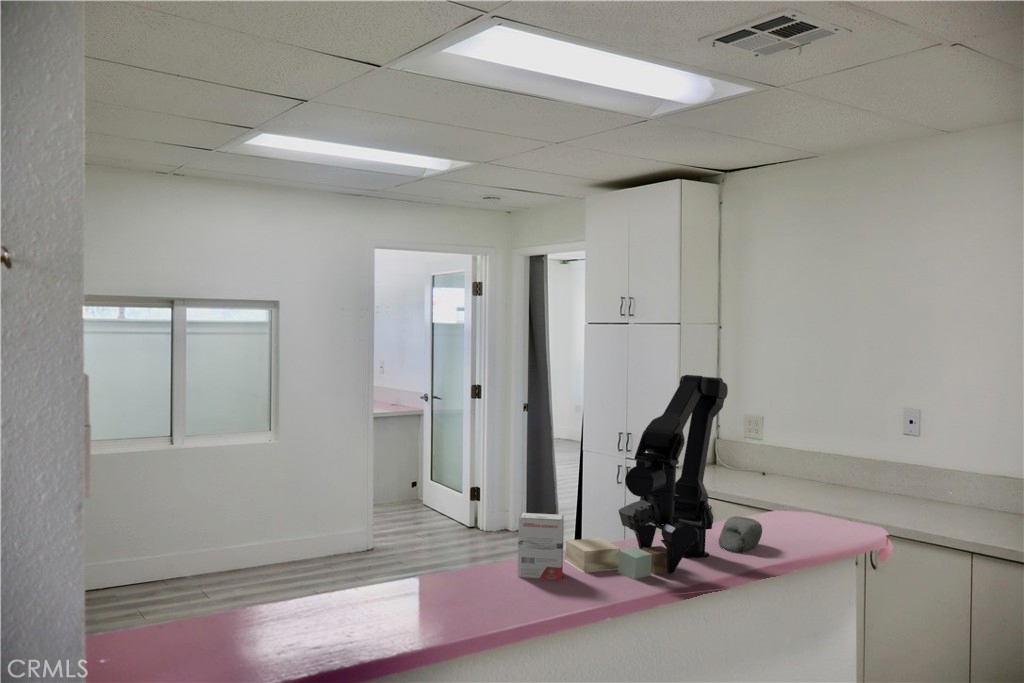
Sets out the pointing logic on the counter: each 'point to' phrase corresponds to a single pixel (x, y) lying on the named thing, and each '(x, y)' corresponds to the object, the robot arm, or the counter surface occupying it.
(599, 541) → the birch base block
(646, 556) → the sage block
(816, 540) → the counter surface
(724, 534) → the stone
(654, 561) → the walnut cube
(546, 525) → the ink box
